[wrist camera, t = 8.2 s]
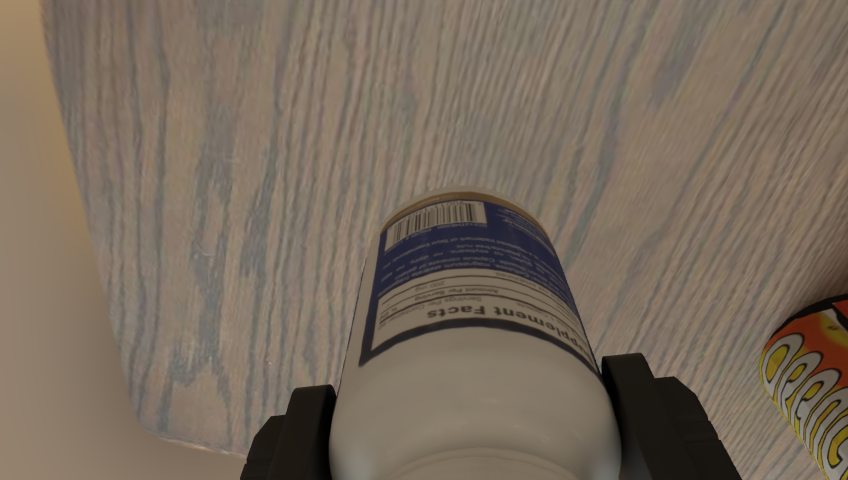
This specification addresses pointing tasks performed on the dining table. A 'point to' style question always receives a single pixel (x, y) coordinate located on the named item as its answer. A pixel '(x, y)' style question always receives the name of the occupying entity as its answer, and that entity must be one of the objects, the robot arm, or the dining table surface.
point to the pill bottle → (469, 353)
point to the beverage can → (813, 381)
